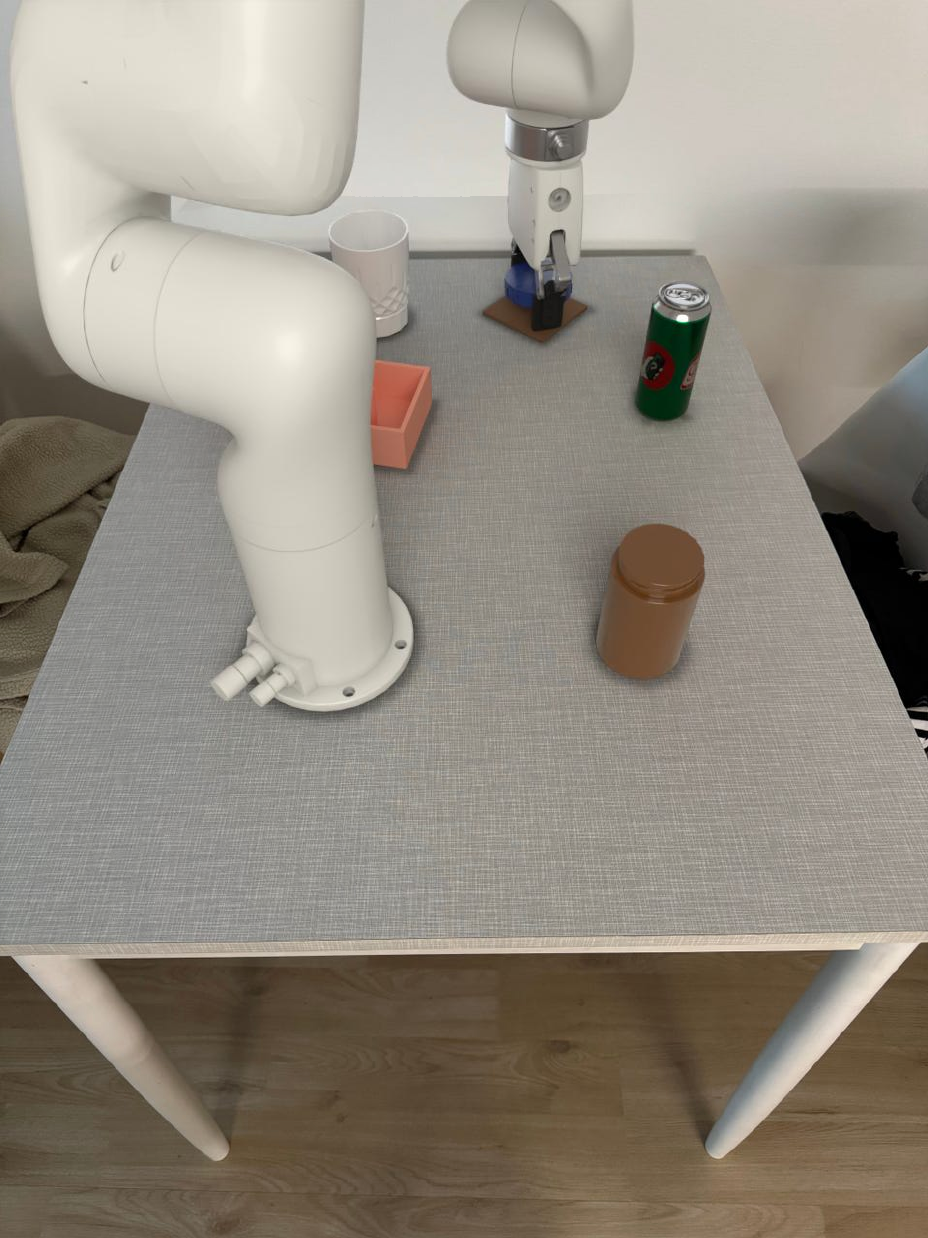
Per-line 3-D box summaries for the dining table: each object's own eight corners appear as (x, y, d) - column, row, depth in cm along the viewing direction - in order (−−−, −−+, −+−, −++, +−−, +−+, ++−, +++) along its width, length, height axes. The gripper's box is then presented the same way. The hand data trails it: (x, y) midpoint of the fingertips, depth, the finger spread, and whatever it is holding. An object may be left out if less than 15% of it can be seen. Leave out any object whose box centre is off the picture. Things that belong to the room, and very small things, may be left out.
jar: (650, 694, 64) (676, 606, 56) (579, 648, 67) (594, 557, 58) (696, 640, 67) (727, 549, 59) (626, 599, 70) (647, 505, 61)
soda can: (685, 427, 82) (713, 314, 73) (631, 421, 83) (652, 307, 73) (688, 394, 85) (715, 281, 76) (636, 388, 86) (656, 275, 76)
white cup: (329, 309, 94) (316, 219, 86) (397, 292, 96) (390, 202, 88) (355, 349, 90) (344, 258, 82) (425, 330, 92) (421, 239, 84)
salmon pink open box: (432, 403, 85) (427, 313, 77) (406, 469, 79) (399, 378, 71) (256, 379, 87) (235, 289, 79) (220, 440, 81) (193, 350, 74)
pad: (542, 343, 90) (542, 339, 90) (482, 314, 94) (482, 311, 93) (587, 308, 94) (587, 305, 94) (528, 282, 97) (528, 279, 97)
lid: (501, 276, 94) (501, 261, 93) (565, 273, 94) (566, 257, 93) (508, 310, 89) (508, 295, 88) (576, 306, 90) (577, 291, 88)
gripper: (619, 170, 75) (596, 349, 89) (555, 89, 85) (543, 260, 99) (535, 181, 74) (525, 361, 88) (481, 97, 84) (479, 270, 98)
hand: (535, 306), depth 93 cm, fingers closed on lid, 6 cm apart
